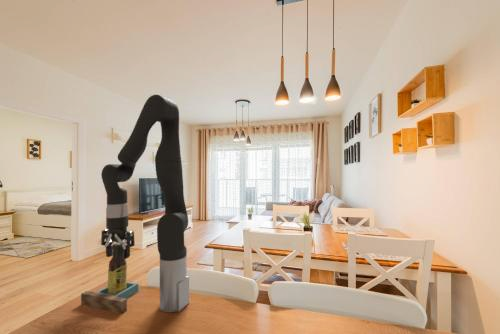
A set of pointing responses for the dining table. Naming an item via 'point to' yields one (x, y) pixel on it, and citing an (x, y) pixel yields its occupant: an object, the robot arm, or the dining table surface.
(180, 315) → the dining table surface
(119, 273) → the sauce bottle
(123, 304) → the walnut rail
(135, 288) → the square collar
